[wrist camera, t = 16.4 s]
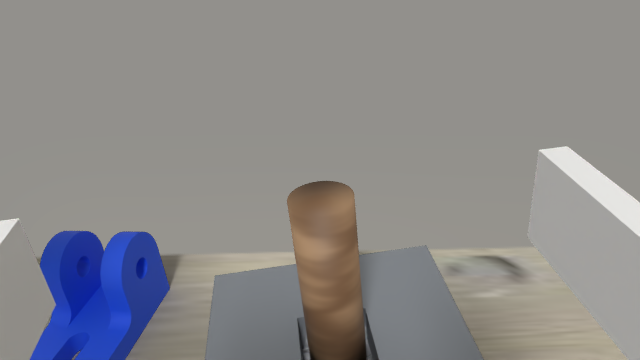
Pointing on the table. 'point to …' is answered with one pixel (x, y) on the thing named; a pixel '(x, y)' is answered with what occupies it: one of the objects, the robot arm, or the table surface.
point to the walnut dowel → (328, 269)
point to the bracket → (99, 294)
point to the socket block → (378, 310)
